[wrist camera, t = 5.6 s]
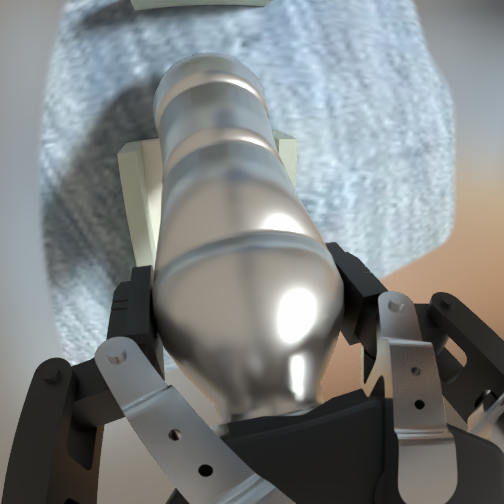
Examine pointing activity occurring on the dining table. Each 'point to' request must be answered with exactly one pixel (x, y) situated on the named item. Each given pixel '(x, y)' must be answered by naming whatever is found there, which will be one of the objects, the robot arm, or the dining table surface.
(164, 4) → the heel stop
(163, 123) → the silver metal bottle
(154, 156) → the cradle
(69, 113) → the dining table surface
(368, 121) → the dining table surface
